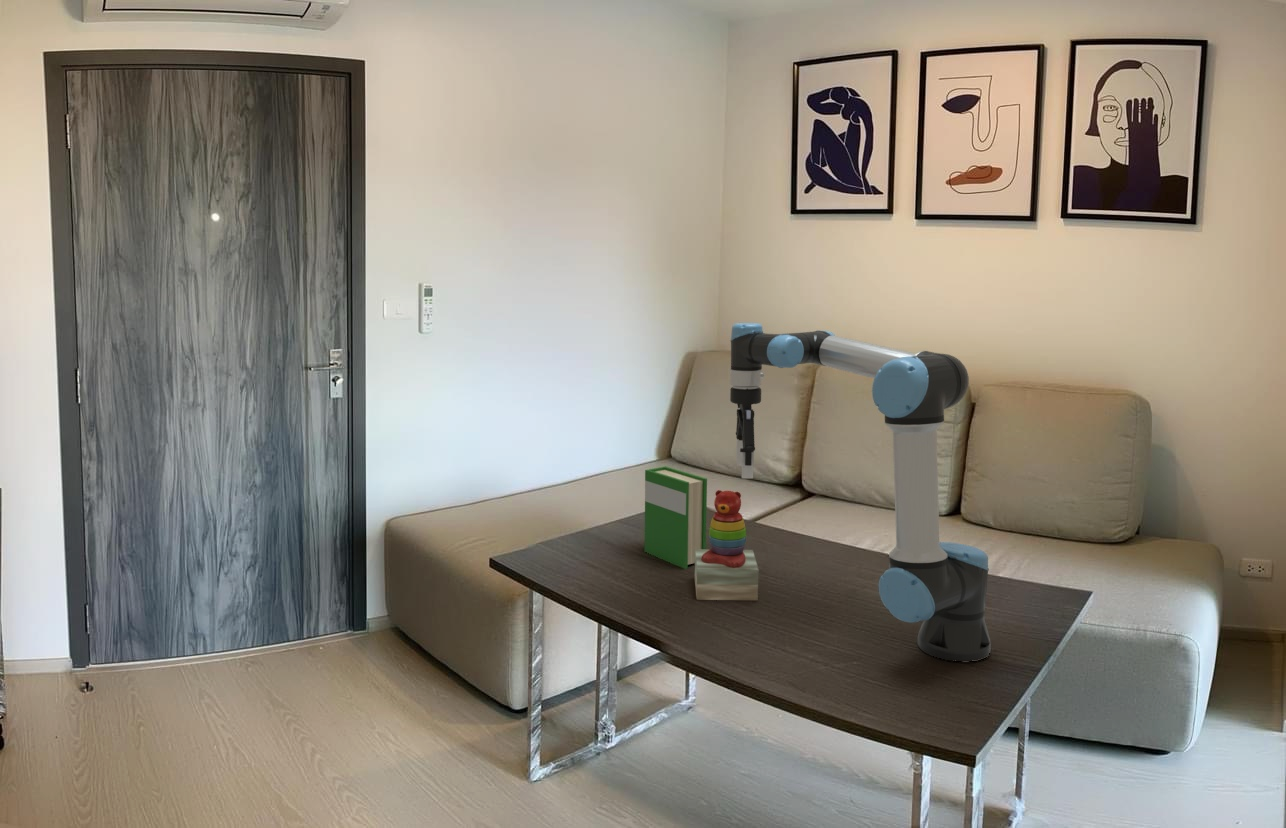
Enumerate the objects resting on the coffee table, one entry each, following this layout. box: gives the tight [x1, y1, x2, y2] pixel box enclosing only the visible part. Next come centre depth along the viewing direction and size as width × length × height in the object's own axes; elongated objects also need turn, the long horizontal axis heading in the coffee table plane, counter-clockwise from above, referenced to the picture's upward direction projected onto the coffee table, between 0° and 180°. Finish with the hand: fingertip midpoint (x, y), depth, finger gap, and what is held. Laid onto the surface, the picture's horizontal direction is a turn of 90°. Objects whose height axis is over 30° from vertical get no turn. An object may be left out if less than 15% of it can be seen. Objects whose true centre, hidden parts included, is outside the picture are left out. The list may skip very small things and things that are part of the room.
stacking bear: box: [701, 489, 747, 568], centre depth 237 cm, size 11×10×18 cm
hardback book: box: [644, 466, 708, 570], centre depth 262 cm, size 18×7×24 cm, turn 38°
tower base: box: [694, 548, 760, 601], centre depth 240 cm, size 15×15×8 cm
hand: (744, 471), depth 234 cm, fingers open, 13 cm apart
